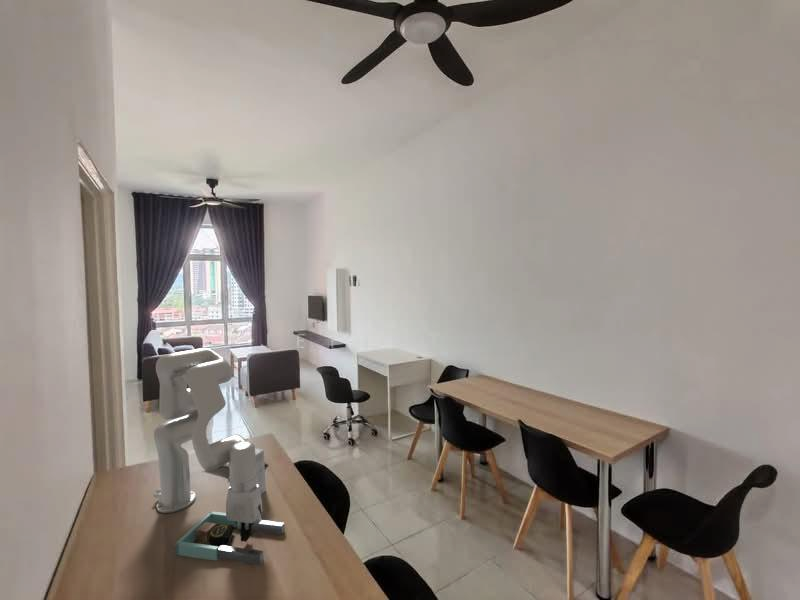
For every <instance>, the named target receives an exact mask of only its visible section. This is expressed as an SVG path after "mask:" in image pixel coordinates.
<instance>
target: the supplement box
mask: <svg viewBox="0 0 800 600" xmlns="http://www.w3.org/2000/svg"><path fill="white" fill-rule="evenodd" d="M255 455H256V478H257V485H258V486H259V489H260V493H261V495H262V494H263V493H265V492H266V491H267V489H266V487H267V486H266V485H267V484H266V469H265V467H266V466H265V464H264V462H265V450H264V449H260V448H256V447H255ZM228 473H229V474H228V475H229V477H228V478H230V463H229V468H228ZM229 487H231V485H230V484H229Z"/></svg>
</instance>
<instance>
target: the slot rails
mask: <svg viewBox="0 0 800 600" xmlns="http://www.w3.org/2000/svg"><path fill="white" fill-rule="evenodd" d="M251 527H252V532H256V533H261V534H262V533H263V534H272V535H279V536H283V534H284V533H285V531H286V530H285V527H286V526H285V522H284V521H283V522H282V521H275V520H274V521H272V520H265V519H262V521H261V522H260V523H258V524H253V525H252V526H251ZM217 555H218V559H217V560H223V561H230V562H236V563H244V564H250V565H257V566H258V565H259V566H261V564H262V563H264V561H265V559H264V557H265V556H264V550H261V549H260V550H259V549H254V548H253V549H252V548H246V547H245V548H244V547H237V546H230V545H221V546H219V548H218V549H217Z"/></svg>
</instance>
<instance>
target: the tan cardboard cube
mask: <svg viewBox="0 0 800 600" xmlns="http://www.w3.org/2000/svg"><path fill="white" fill-rule="evenodd" d="M215 527H217V524H215V523H209V522H205V523H204V524H202V525H201V526H200V527H199V528H198V529H197V530H196V537H197V538H196V543H197V542H198V543H200V544H205V545H208V544H209V534H210V532H211V531H212V530H213V529H214V528H215Z"/></svg>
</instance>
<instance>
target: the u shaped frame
mask: <svg viewBox="0 0 800 600" xmlns="http://www.w3.org/2000/svg"><path fill="white" fill-rule="evenodd" d="M205 522H209V523H215V524H216V525H218V526H221V525H227V526H228V525H230V524H232V525H233V526H234V528H238V525H237V524H236V523H235V521H230V520H228V519H227V517H226V512H220V511H219V512H218V511H211V510H210V511H209V512H208V513H206V515H204V516H203V517H202V518H201V519H200V520H199V521H198V522H197V523H196V524H195V525H194V526H192V528H191V529H189V530H187V532H186V533H184V535H182V537H180V538H179V539H178V540H177V541H176V542H175V543H174V550H175V556H182V557H187V558H188V557H189V558H196V559H204V560H211V561H218V560H219V559H218V555H217V549H218V548H219V547H220V546H219V547H218V546H211V545H210V544H205V543H197V542H195V541H196V540H197V537H196V530H197V529H198V528H199V527H200V526H201V525H202V524H204V523H205ZM194 542H195V543H194Z"/></svg>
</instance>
